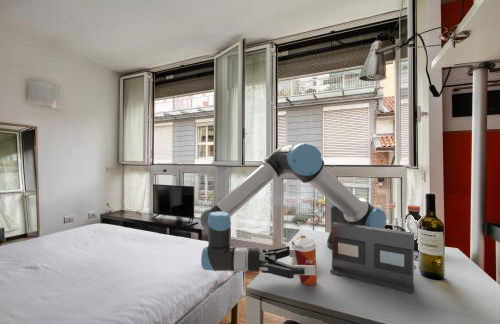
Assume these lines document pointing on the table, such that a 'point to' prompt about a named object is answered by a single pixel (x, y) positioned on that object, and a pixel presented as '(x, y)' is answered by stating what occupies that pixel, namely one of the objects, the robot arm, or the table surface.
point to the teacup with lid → (293, 247)
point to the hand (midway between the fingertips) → (311, 261)
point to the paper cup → (306, 258)
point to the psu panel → (374, 255)
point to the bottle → (414, 212)
